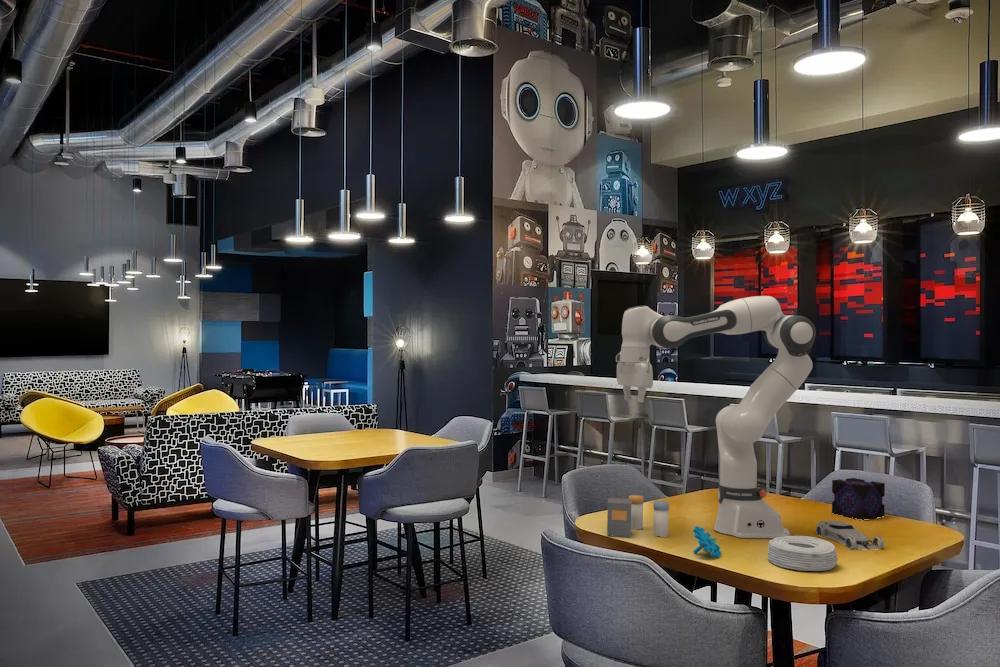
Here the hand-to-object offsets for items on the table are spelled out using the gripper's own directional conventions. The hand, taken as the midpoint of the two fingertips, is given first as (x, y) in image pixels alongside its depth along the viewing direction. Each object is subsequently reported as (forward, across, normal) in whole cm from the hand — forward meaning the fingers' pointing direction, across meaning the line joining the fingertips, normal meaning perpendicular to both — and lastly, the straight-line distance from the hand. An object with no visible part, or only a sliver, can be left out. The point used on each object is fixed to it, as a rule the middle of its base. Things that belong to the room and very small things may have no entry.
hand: (633, 401), depth 244 cm
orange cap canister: (+40, +1, -2) cm, 40 cm away
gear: (+40, -32, -9) cm, 52 cm away
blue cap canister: (+40, -9, -6) cm, 41 cm away
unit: (+40, -5, +6) cm, 41 cm away
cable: (+40, -44, -30) cm, 67 cm away
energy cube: (+40, +7, -89) cm, 97 cm away
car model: (+40, -23, -60) cm, 76 cm away
